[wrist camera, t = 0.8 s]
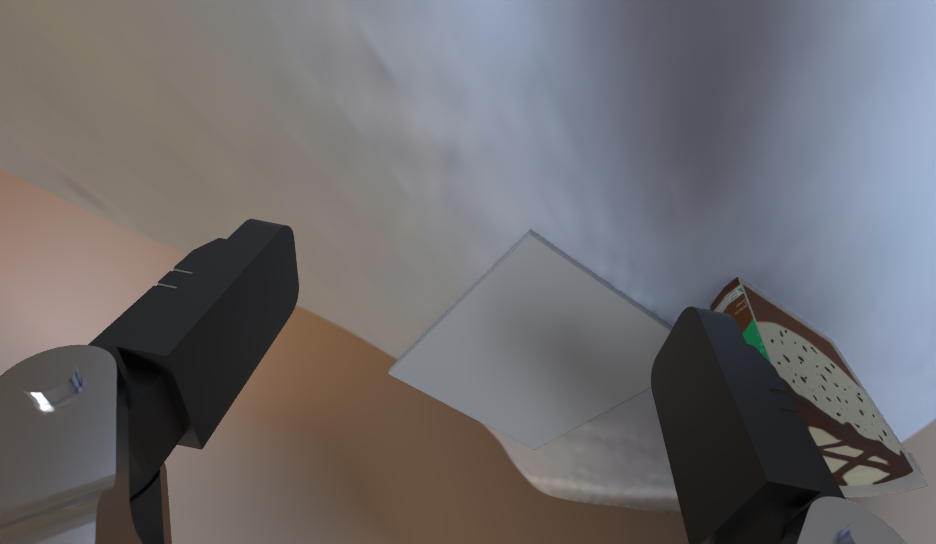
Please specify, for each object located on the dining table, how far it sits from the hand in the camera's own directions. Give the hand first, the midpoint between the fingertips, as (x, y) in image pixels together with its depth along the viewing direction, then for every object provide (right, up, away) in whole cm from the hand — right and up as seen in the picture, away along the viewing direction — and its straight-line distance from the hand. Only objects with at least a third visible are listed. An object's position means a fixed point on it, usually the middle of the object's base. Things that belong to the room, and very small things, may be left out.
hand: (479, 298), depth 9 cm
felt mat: (+5, -7, +29) cm, 30 cm away
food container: (+20, -4, +23) cm, 31 cm away
